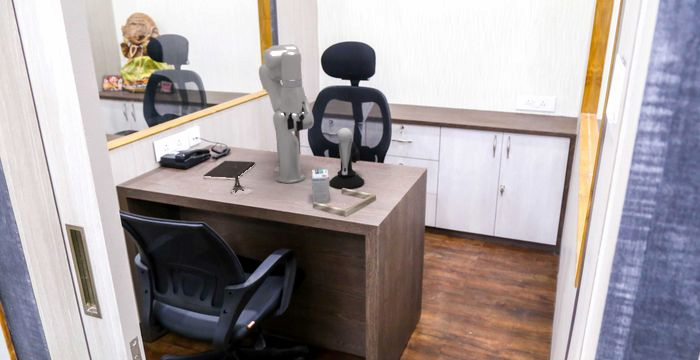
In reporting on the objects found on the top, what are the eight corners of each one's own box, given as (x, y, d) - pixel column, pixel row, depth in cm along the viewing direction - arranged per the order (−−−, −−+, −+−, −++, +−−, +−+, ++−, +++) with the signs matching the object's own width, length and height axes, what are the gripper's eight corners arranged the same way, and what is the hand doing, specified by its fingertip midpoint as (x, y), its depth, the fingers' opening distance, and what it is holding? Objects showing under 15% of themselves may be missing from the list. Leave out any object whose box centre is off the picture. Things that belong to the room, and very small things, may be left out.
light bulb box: (312, 194, 216) (311, 169, 212) (328, 193, 216) (327, 168, 213) (312, 203, 206) (311, 177, 202) (330, 202, 206) (328, 176, 203)
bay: (312, 208, 201) (312, 203, 200) (343, 192, 216) (343, 188, 216) (346, 216, 192) (346, 211, 191) (375, 199, 207) (375, 195, 207)
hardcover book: (203, 180, 239) (203, 175, 238) (225, 165, 260) (224, 160, 259) (236, 181, 235) (235, 176, 235) (255, 166, 257) (255, 161, 256)
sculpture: (325, 188, 221) (322, 131, 213) (338, 171, 243) (336, 118, 235) (360, 190, 218) (359, 132, 210) (370, 172, 240) (370, 119, 231)
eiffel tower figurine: (242, 201, 212) (238, 170, 207) (219, 199, 214) (216, 168, 210) (257, 188, 225) (254, 159, 221) (236, 187, 228) (233, 158, 224)
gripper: (270, 83, 204) (273, 129, 210) (302, 86, 195) (305, 134, 201) (283, 81, 210) (286, 125, 216) (315, 83, 201) (317, 130, 207)
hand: (295, 129), depth 208 cm, fingers open, 4 cm apart
